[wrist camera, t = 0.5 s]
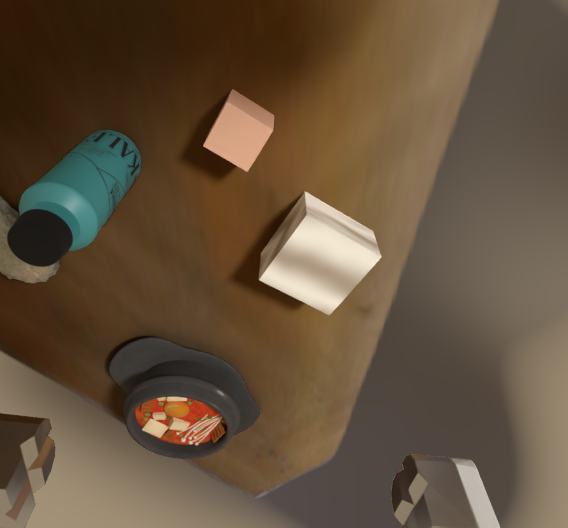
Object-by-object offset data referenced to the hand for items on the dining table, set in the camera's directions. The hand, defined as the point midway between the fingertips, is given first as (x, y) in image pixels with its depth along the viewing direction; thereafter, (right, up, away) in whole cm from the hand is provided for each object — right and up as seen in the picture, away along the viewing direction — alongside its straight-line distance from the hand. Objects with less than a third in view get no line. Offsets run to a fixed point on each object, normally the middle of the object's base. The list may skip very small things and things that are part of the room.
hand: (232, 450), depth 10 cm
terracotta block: (-3, +19, +37) cm, 42 cm away
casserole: (-14, -14, +60) cm, 63 cm away
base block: (+5, +7, +46) cm, 46 cm away
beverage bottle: (-17, +17, +39) cm, 46 cm away
